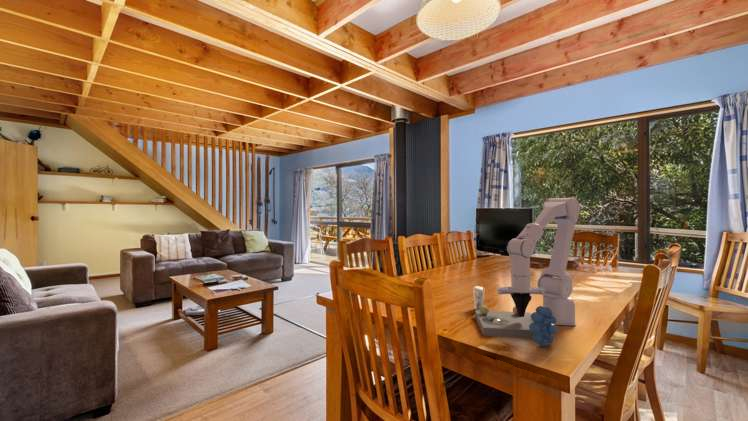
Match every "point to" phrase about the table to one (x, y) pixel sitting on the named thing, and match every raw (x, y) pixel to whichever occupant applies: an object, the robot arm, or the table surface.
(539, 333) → the grapes
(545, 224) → the robot arm
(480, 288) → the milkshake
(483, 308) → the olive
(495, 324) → the board
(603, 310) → the table surface
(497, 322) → the steel ball
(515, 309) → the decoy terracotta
